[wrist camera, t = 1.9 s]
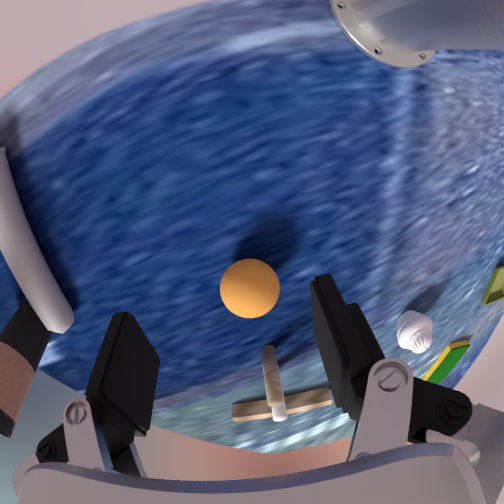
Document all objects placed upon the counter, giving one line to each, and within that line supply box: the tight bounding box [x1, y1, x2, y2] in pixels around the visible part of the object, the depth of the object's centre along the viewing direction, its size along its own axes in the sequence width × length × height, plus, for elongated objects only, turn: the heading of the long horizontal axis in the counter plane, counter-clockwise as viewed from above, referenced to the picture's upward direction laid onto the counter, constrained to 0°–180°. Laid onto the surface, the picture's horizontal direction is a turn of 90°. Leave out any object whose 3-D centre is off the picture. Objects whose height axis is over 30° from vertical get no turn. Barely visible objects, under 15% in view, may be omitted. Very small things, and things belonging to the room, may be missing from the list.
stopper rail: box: [232, 387, 332, 422], centre depth 45 cm, size 18×2×3 cm, turn 101°
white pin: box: [271, 366, 288, 421], centre depth 37 cm, size 2×2×9 cm
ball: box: [220, 259, 280, 318], centre depth 28 cm, size 6×6×6 cm
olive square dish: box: [483, 265, 504, 306], centre depth 36 cm, size 9×9×2 cm
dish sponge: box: [422, 340, 470, 384], centre depth 48 cm, size 7×14×2 cm, turn 174°
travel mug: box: [0, 304, 53, 438], centre depth 24 cm, size 8×8×20 cm
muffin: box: [397, 310, 433, 353], centre depth 35 cm, size 6×6×7 cm
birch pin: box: [261, 345, 284, 407], centre depth 34 cm, size 2×2×9 cm
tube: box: [0, 147, 74, 334], centre depth 25 cm, size 5×5×25 cm
